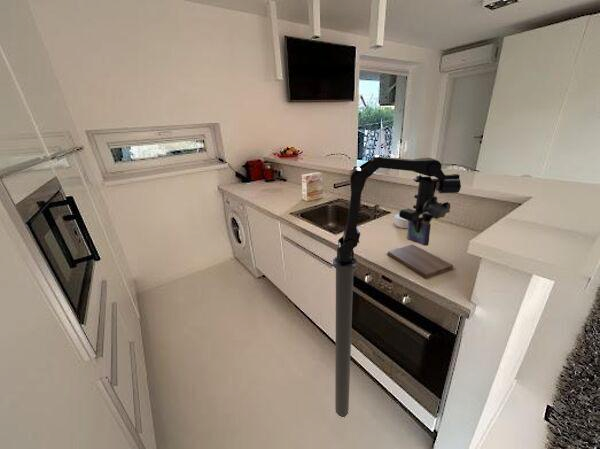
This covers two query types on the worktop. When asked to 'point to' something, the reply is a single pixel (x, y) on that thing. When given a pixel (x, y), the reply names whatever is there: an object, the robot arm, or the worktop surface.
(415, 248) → the serving board
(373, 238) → the worktop surface
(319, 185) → the coffeecake box
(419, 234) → the flask
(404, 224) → the ramekin
